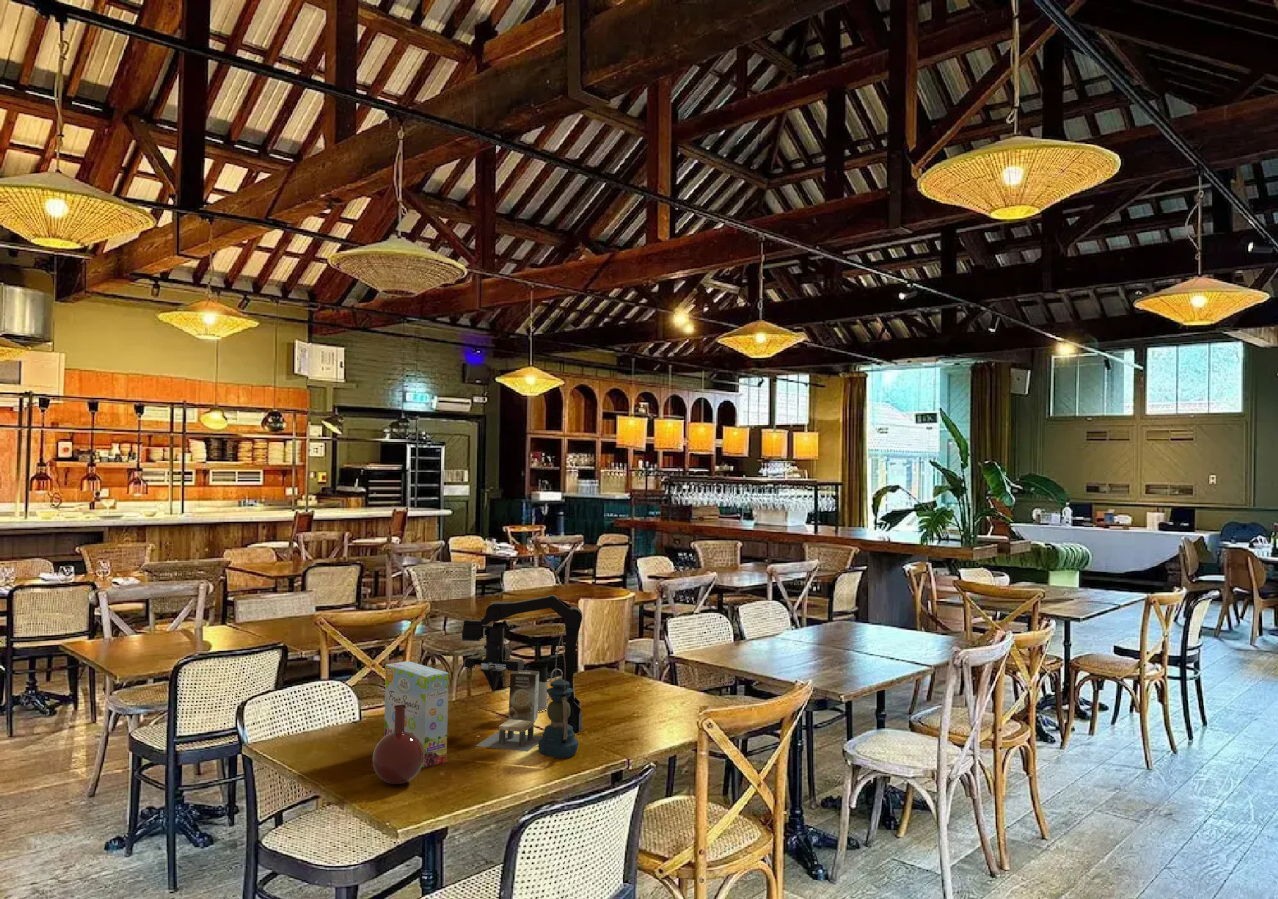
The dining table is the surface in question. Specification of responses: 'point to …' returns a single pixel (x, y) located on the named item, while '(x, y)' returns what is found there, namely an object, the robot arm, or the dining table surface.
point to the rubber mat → (509, 742)
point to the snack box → (419, 706)
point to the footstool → (516, 726)
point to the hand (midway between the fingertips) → (493, 690)
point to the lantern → (558, 721)
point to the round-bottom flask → (398, 753)
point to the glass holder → (542, 684)
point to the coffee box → (524, 695)
